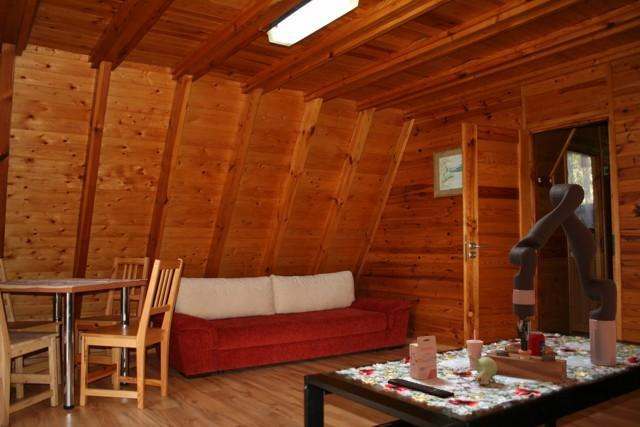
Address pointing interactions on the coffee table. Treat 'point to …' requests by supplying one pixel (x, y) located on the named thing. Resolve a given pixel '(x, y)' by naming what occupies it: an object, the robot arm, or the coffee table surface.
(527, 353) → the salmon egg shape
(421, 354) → the ink cartridge box
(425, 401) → the coffee table surface
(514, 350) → the plant
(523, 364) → the oak block
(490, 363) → the frog
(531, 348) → the beverage can
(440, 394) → the remote control
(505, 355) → the plunger
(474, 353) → the smoothie
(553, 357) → the plunger
